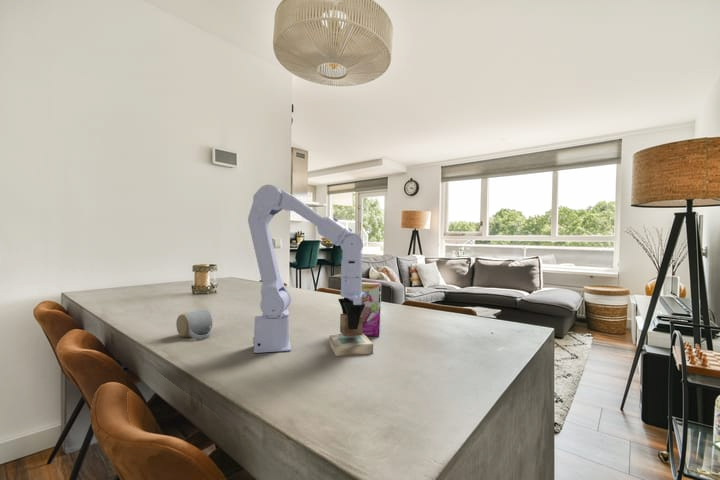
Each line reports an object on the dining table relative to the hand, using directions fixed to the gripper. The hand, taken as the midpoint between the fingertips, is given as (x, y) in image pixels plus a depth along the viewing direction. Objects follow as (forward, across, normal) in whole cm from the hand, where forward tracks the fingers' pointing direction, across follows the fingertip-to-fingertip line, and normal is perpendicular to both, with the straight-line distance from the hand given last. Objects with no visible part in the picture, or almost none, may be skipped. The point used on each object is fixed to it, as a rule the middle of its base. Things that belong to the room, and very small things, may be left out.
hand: (350, 326), depth 93 cm
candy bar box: (+6, +13, -7) cm, 16 cm away
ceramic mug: (+6, +22, +43) cm, 49 cm away
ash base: (+6, 0, 0) cm, 6 cm away
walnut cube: (+2, 0, 0) cm, 2 cm away
